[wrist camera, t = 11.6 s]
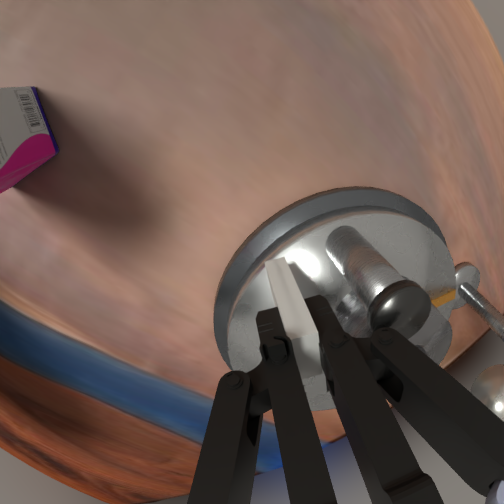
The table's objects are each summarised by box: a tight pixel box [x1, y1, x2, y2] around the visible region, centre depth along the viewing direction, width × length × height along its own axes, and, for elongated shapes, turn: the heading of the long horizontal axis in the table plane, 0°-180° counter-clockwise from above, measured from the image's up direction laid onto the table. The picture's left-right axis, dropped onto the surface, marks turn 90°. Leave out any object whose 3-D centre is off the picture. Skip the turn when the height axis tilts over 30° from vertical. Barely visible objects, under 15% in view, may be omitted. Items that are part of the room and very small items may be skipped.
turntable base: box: [214, 186, 447, 371], centre depth 25 cm, size 22×22×1 cm
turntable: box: [227, 205, 456, 411], centre depth 20 cm, size 20×20×10 cm
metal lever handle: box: [452, 262, 504, 421], centre depth 20 cm, size 10×5×15 cm, turn 123°
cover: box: [334, 275, 452, 399], centre depth 19 cm, size 8×8×6 cm
